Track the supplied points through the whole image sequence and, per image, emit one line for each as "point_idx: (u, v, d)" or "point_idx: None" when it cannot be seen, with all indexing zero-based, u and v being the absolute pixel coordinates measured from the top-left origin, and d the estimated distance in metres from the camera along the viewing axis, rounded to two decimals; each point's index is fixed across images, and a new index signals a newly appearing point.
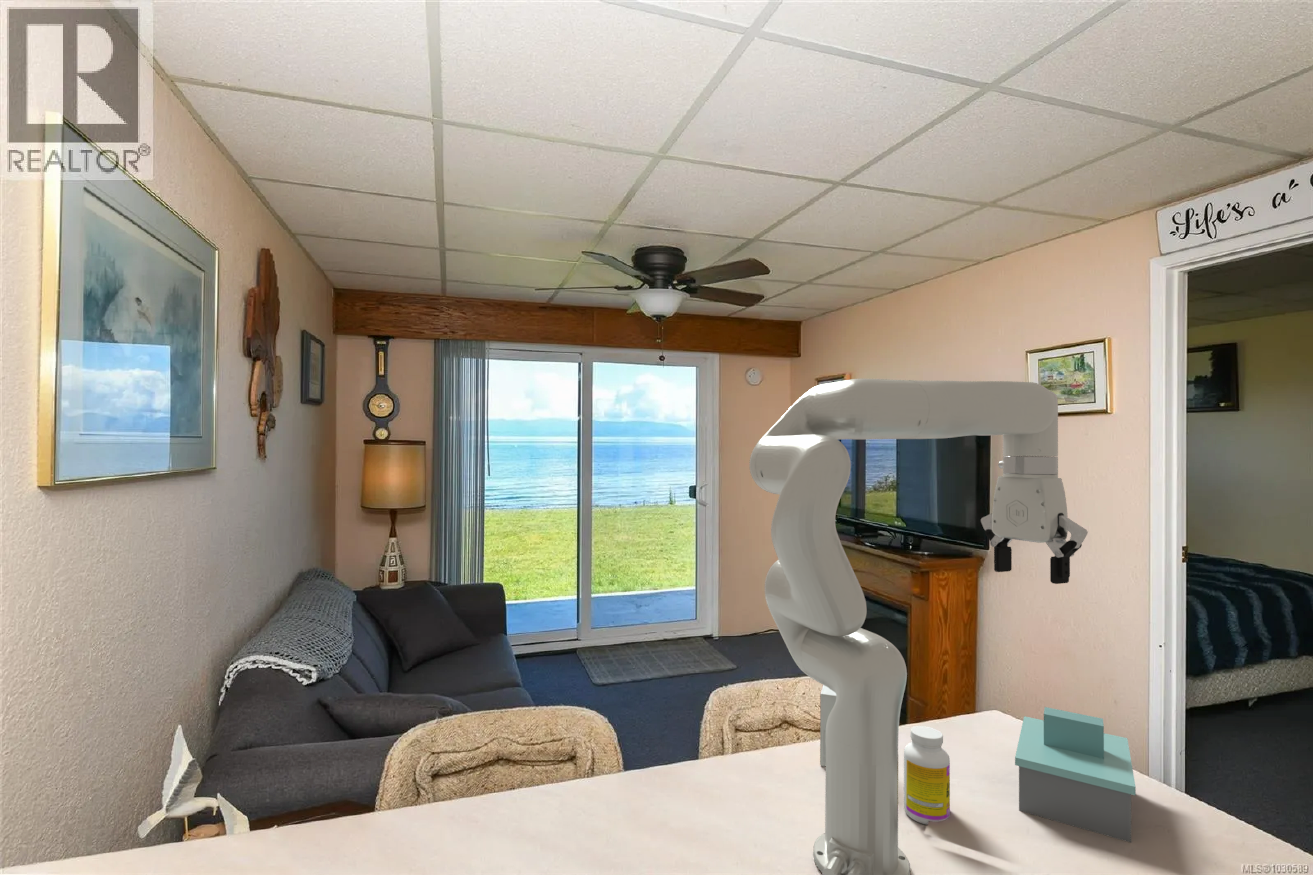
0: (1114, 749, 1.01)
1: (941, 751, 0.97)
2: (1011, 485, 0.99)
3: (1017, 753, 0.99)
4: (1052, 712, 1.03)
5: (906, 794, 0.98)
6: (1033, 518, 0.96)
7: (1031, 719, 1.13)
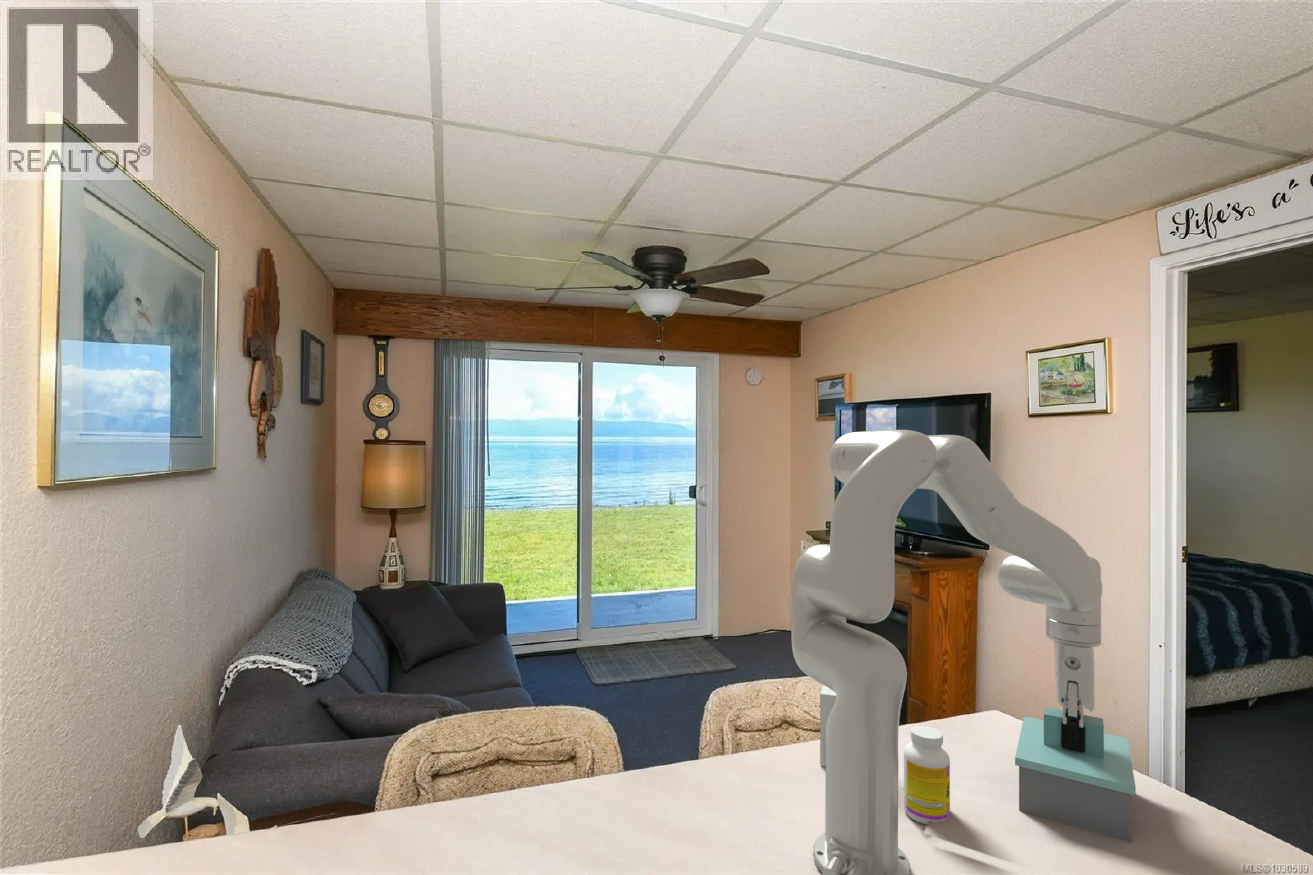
0: (1114, 749, 1.01)
1: (941, 751, 0.97)
2: (1093, 653, 1.00)
3: (1017, 753, 0.99)
4: (1052, 712, 1.03)
5: (906, 794, 0.98)
6: None
7: (1031, 719, 1.13)
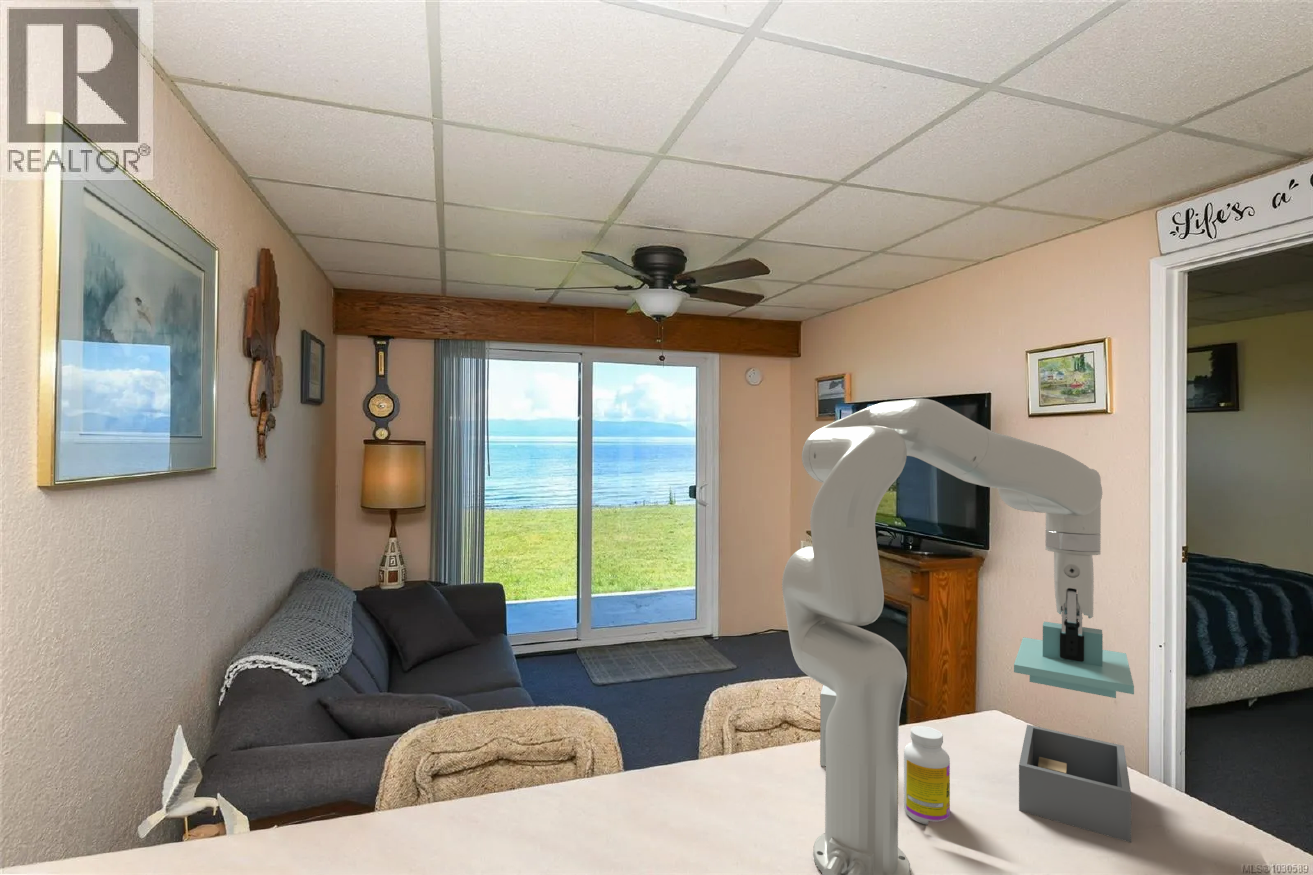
0: (1113, 660, 1.02)
1: (941, 751, 0.97)
2: (1092, 562, 1.00)
3: (1016, 662, 1.00)
4: (1051, 625, 1.04)
5: (906, 794, 0.98)
6: None
7: (1030, 639, 1.13)
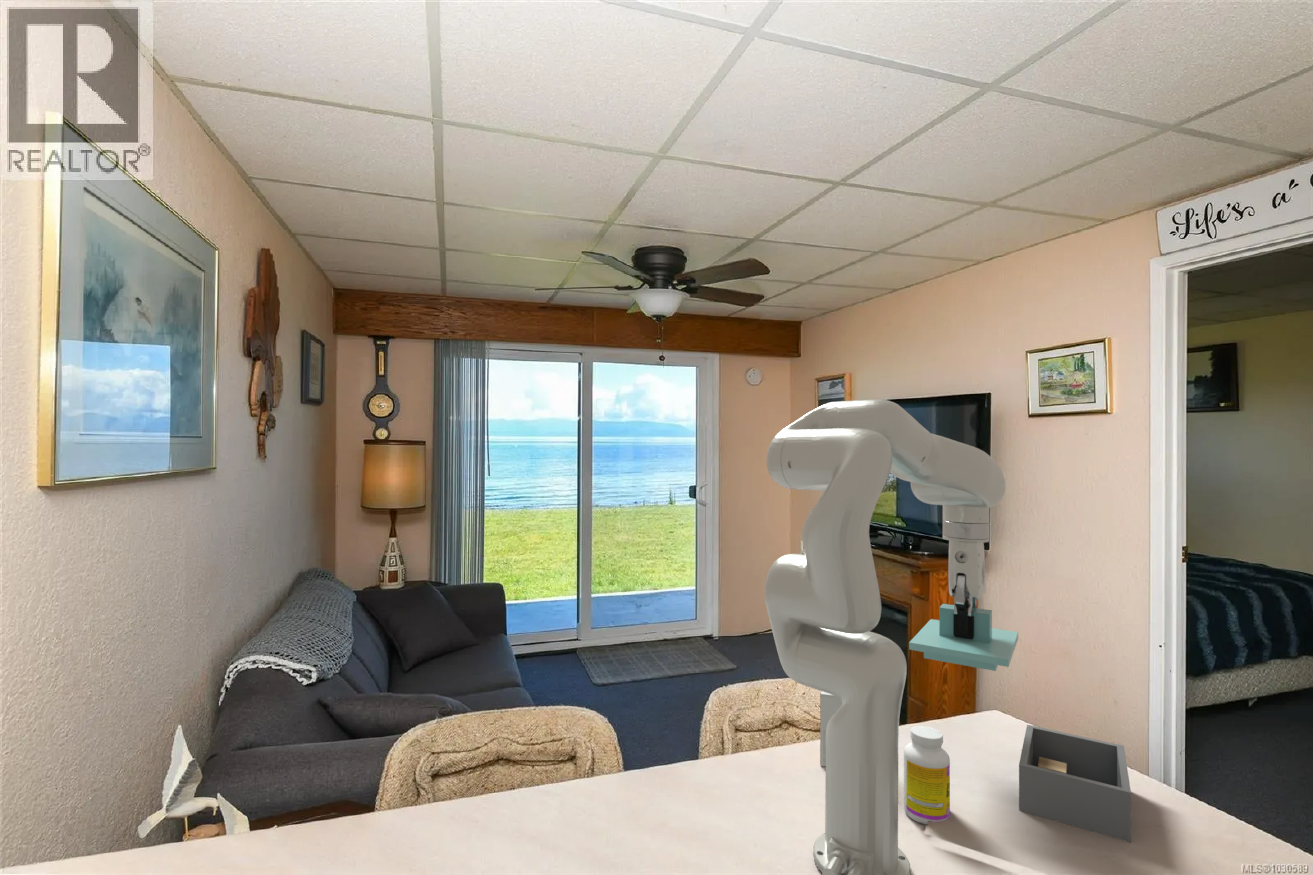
0: (1002, 638, 1.11)
1: (941, 751, 0.97)
2: (981, 549, 1.10)
3: (912, 640, 1.09)
4: (948, 606, 1.13)
5: (906, 794, 0.98)
6: (984, 573, 1.13)
7: (936, 621, 1.23)
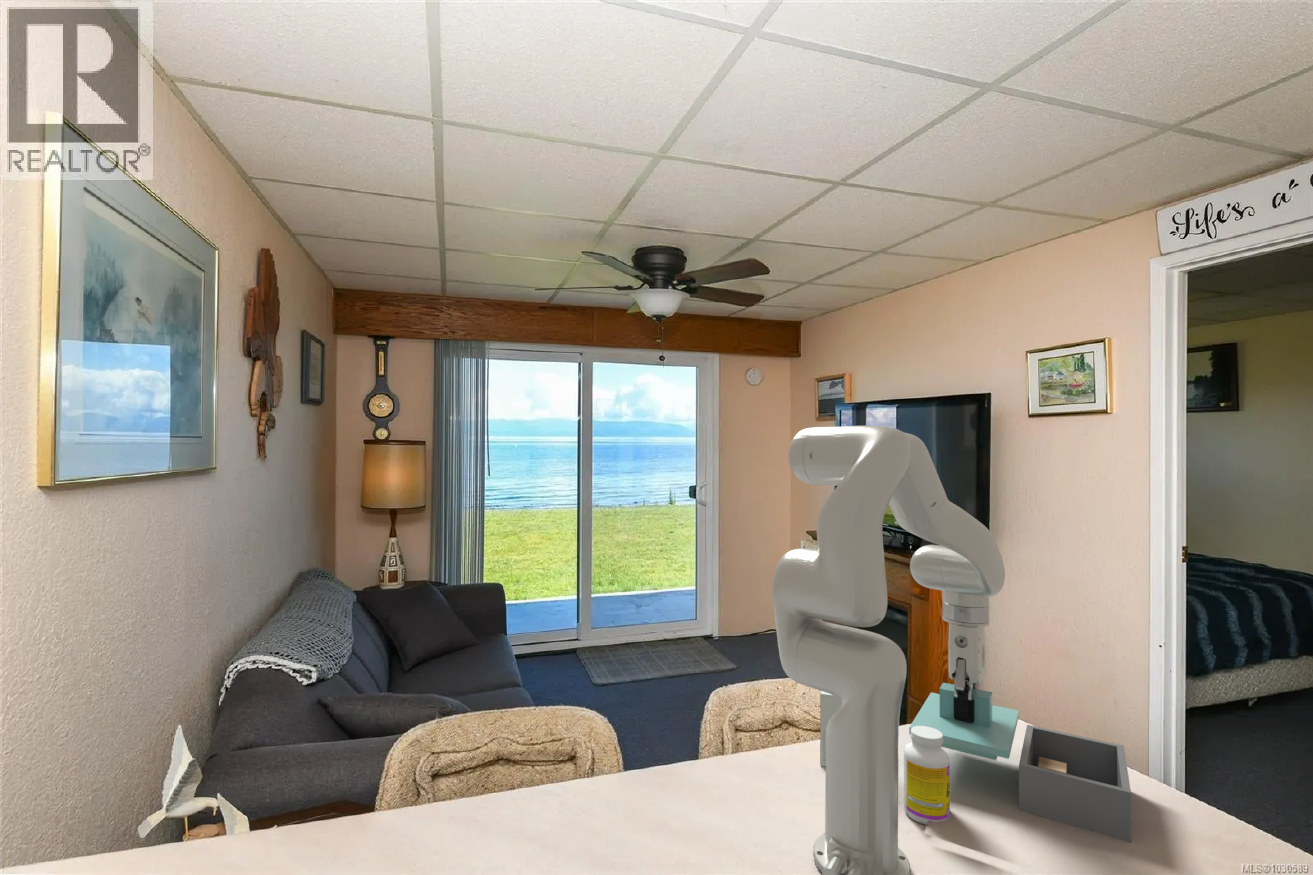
0: (1002, 720, 1.11)
1: (941, 751, 0.97)
2: (981, 632, 1.10)
3: (912, 724, 1.09)
4: (948, 687, 1.13)
5: (906, 794, 0.98)
6: (984, 654, 1.13)
7: (936, 695, 1.22)
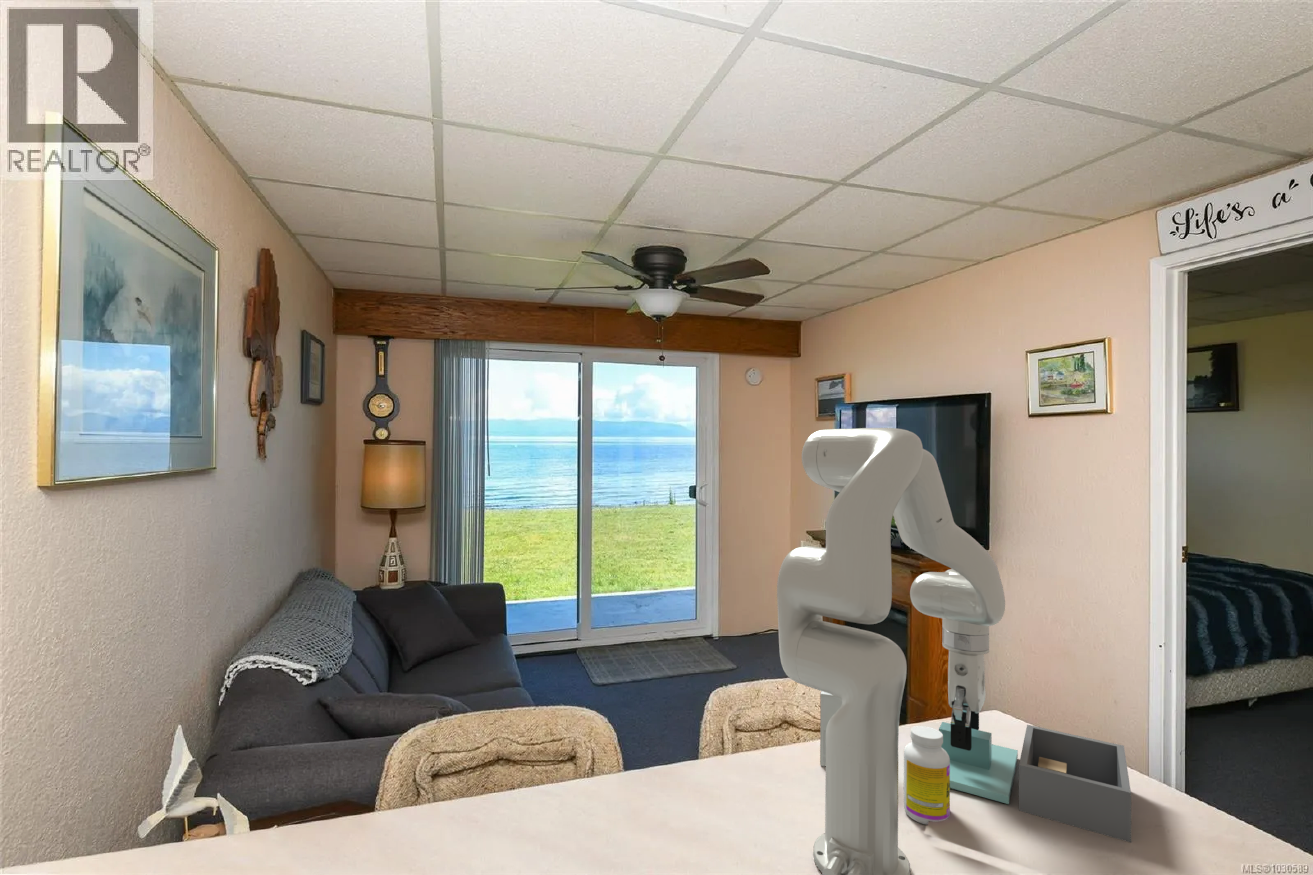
0: (1002, 761, 1.11)
1: (941, 751, 0.97)
2: (981, 660, 1.10)
3: None
4: (947, 727, 1.13)
5: (906, 794, 0.98)
6: (984, 681, 1.12)
7: None
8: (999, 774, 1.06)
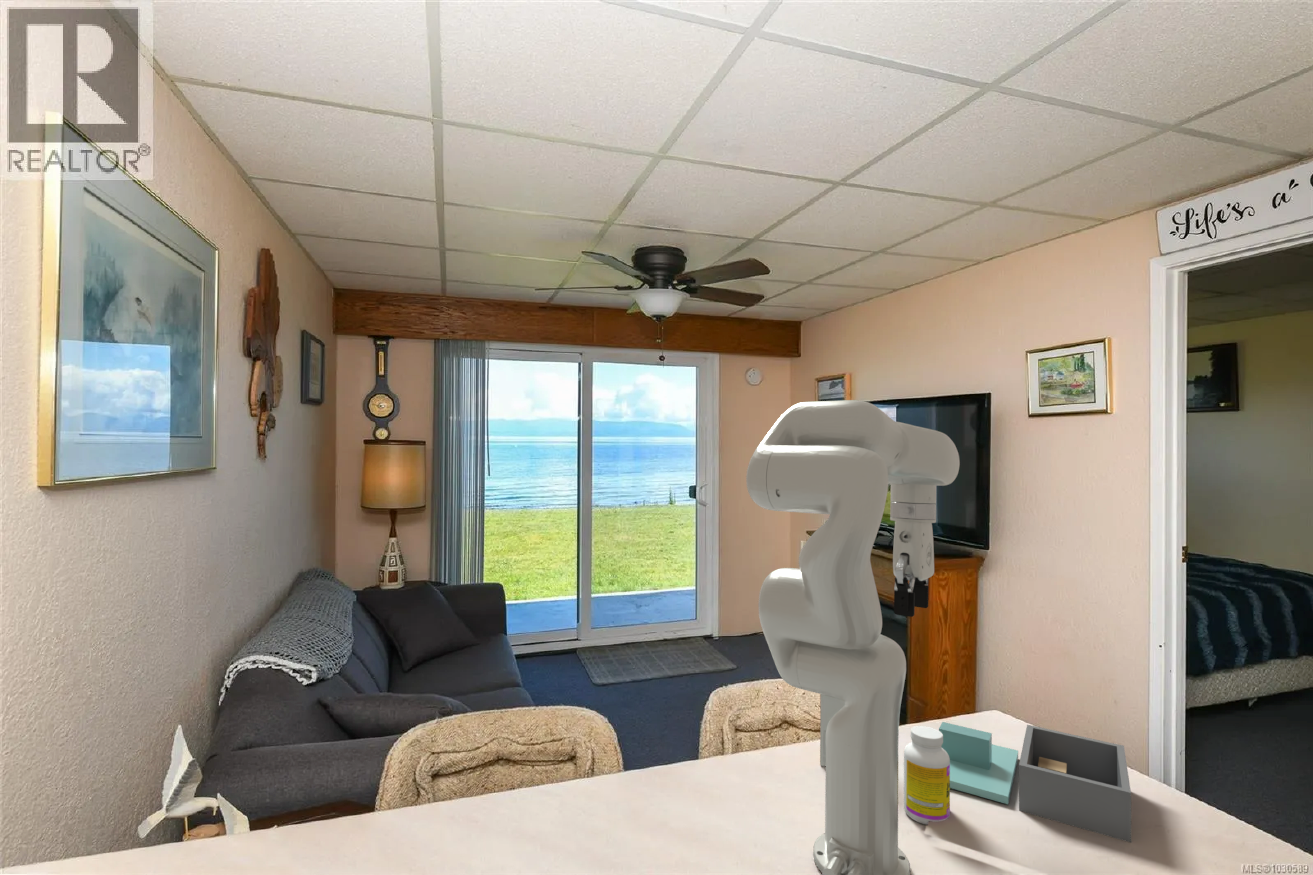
0: (1002, 761, 1.11)
1: (941, 751, 0.97)
2: (927, 530, 1.09)
3: None
4: (947, 727, 1.13)
5: (906, 794, 0.98)
6: (932, 556, 1.12)
7: None
8: (999, 774, 1.06)
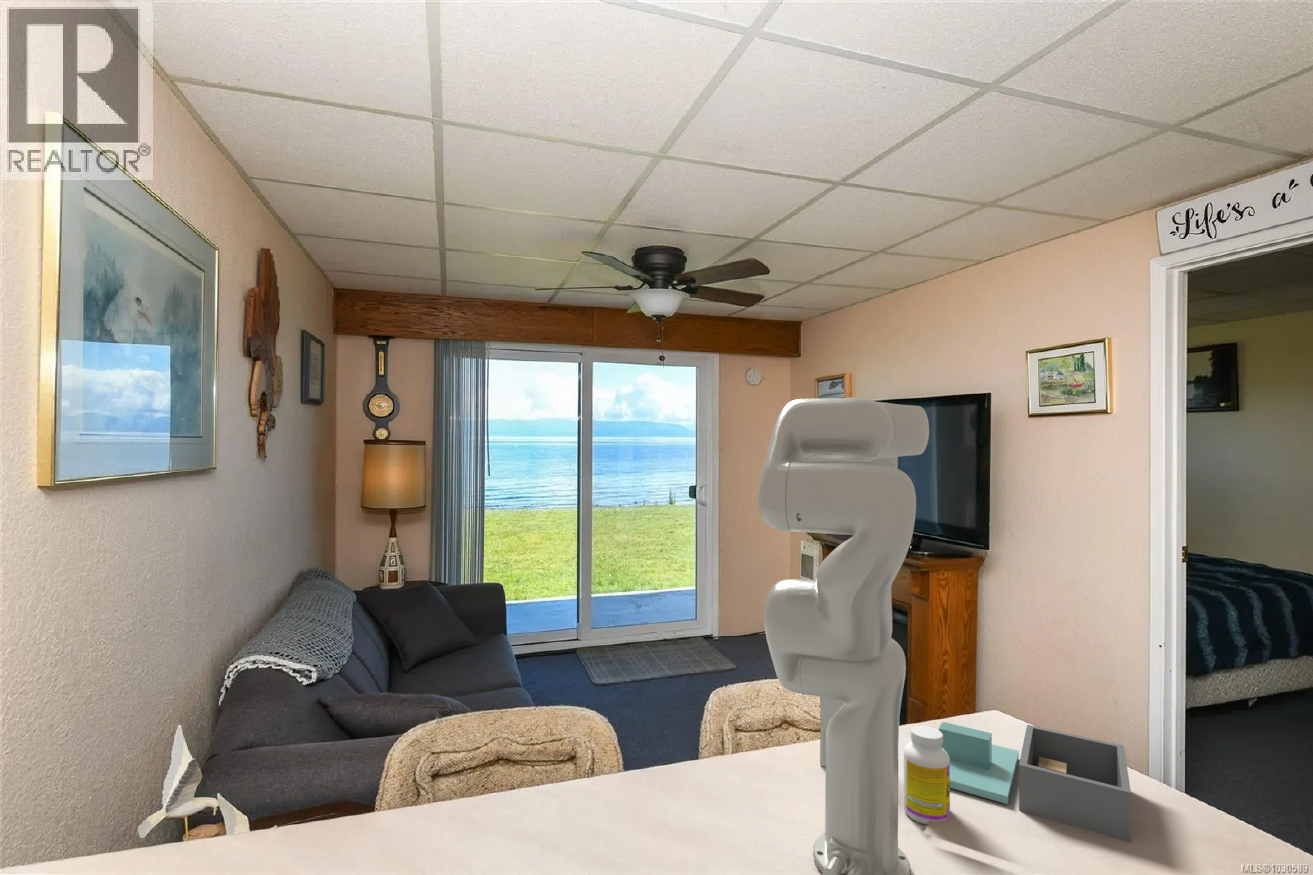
0: (1002, 761, 1.11)
1: (941, 751, 0.97)
2: None
3: None
4: (947, 727, 1.13)
5: (906, 794, 0.98)
6: None
7: None
8: (999, 774, 1.06)
